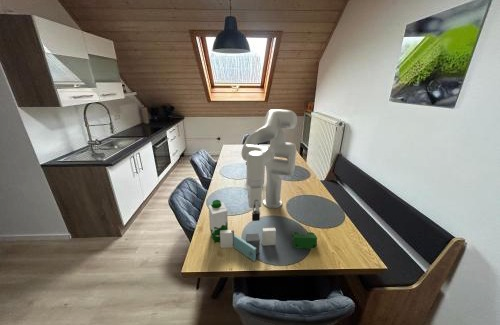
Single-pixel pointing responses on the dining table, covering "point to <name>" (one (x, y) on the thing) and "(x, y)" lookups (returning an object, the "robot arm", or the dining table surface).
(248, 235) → the gray rectangular block
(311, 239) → the clamp
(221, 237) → the white rectangular block
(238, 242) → the door
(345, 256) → the dining table surface
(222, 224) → the milk carton
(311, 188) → the dining table surface
